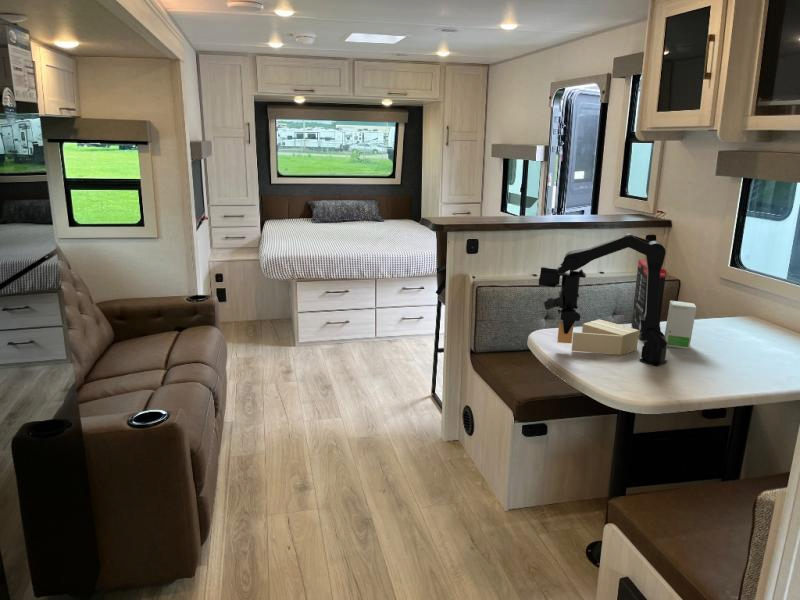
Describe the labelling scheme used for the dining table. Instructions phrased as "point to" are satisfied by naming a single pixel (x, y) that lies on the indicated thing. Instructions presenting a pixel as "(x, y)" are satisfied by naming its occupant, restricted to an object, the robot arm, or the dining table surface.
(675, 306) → the skincare box
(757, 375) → the dining table surface
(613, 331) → the carton
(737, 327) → the dining table surface
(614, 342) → the carton flap
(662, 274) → the graphics card box
